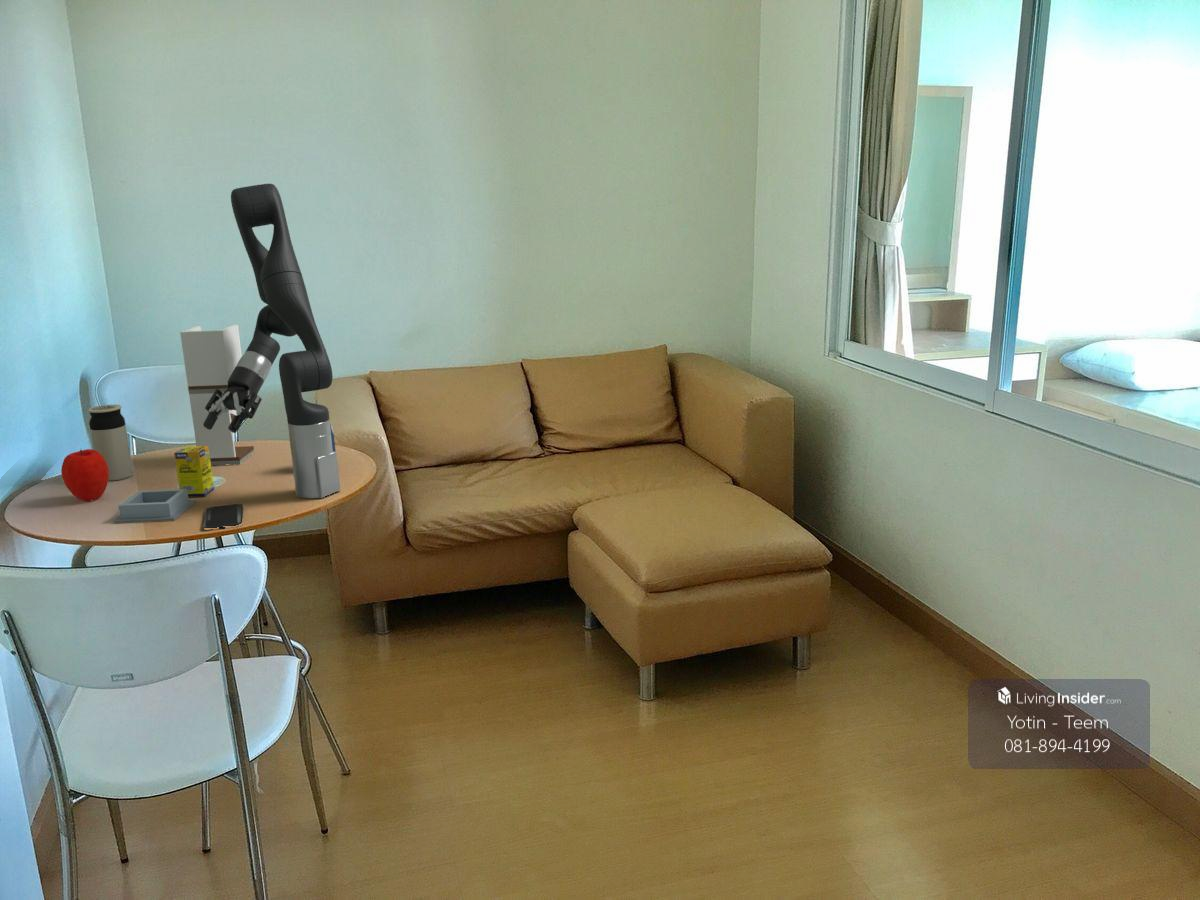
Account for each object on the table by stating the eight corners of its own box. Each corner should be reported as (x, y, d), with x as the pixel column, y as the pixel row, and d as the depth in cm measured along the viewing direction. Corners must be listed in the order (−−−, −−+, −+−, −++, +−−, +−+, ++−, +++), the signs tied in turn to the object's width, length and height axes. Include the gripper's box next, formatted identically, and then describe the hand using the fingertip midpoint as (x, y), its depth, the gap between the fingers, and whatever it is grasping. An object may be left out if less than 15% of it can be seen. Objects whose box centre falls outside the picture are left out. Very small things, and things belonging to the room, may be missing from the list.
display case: (240, 464, 258) (222, 330, 249) (199, 466, 258) (180, 332, 249) (254, 453, 269) (237, 324, 260) (215, 454, 269) (197, 326, 260)
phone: (242, 503, 223) (242, 523, 209) (243, 507, 223) (242, 528, 209) (205, 507, 220) (202, 528, 207) (206, 512, 221) (202, 533, 207)
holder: (195, 502, 227) (193, 487, 226) (174, 520, 215) (171, 504, 214) (138, 504, 227) (136, 489, 226) (113, 523, 214) (110, 507, 213)
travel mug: (116, 482, 246) (105, 411, 241) (91, 480, 248) (79, 410, 243) (140, 473, 253) (129, 404, 248) (115, 472, 255) (104, 403, 251)
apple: (82, 493, 238) (73, 443, 235) (121, 492, 237) (113, 443, 234) (57, 506, 228) (48, 454, 225) (99, 505, 228) (90, 454, 224)
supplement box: (205, 497, 231) (198, 451, 228) (179, 497, 231) (173, 452, 228) (215, 489, 237) (209, 445, 234) (190, 490, 237) (184, 445, 234)
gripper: (219, 363, 245) (188, 418, 238) (261, 366, 238) (229, 423, 232) (239, 380, 251) (208, 435, 244) (280, 384, 244) (250, 440, 237)
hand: (219, 429), depth 238 cm, fingers open, 8 cm apart
